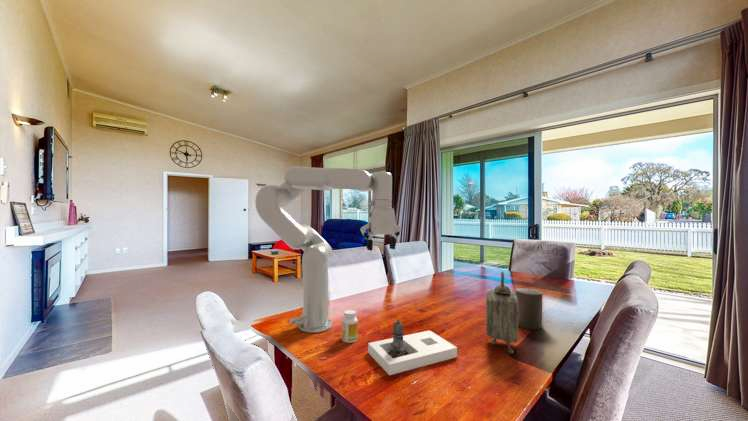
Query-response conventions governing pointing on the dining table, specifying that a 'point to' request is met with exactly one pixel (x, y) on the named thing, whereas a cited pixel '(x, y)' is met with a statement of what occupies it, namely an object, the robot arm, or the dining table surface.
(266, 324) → the dining table surface
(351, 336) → the supplement bottle
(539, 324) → the pillar candle
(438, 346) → the socket board
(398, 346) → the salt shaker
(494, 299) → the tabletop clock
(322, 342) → the dining table surface
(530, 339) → the dining table surface
